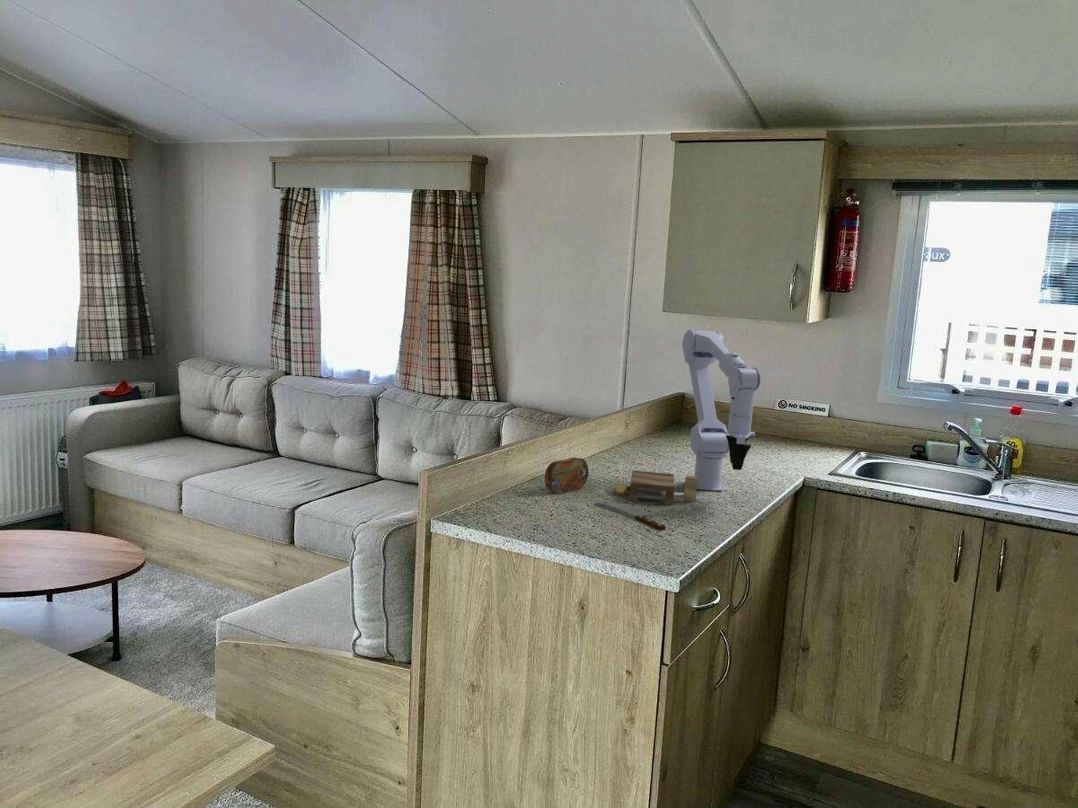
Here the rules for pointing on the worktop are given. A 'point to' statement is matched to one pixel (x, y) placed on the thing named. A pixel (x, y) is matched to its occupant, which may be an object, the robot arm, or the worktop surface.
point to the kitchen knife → (632, 512)
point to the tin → (566, 475)
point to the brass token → (621, 489)
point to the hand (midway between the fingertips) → (735, 466)
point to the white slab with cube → (687, 495)
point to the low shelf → (652, 484)
